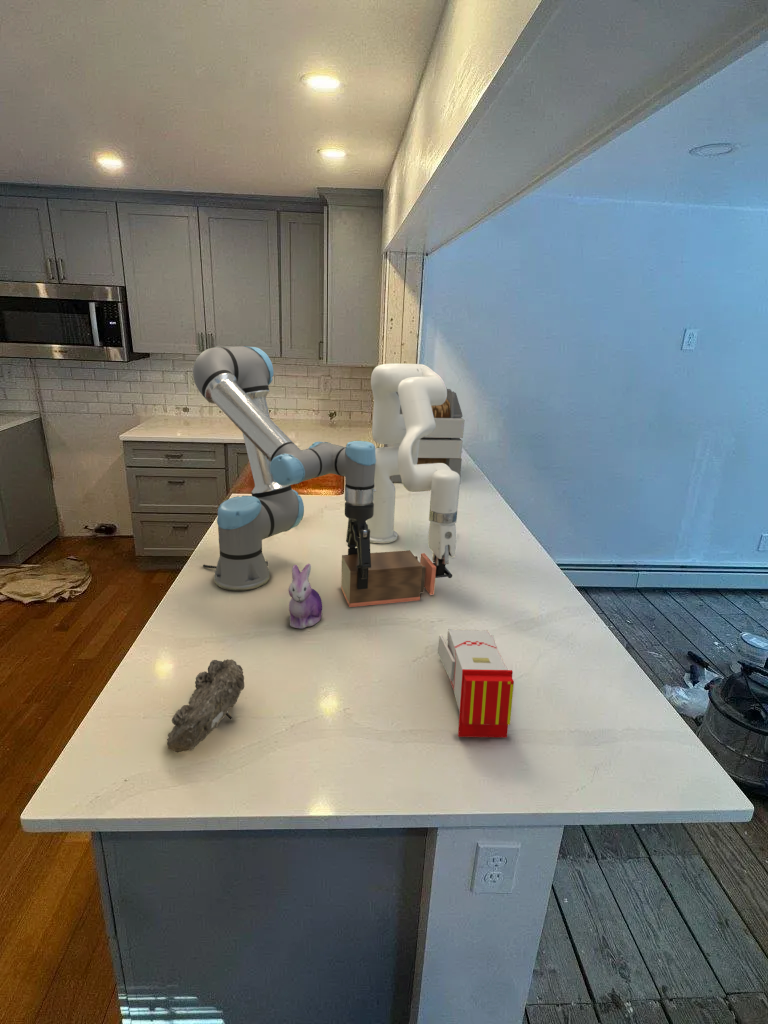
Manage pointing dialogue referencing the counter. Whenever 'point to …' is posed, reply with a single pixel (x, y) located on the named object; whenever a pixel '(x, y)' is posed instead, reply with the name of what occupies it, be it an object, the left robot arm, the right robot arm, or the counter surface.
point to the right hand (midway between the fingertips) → (438, 576)
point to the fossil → (206, 705)
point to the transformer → (441, 437)
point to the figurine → (303, 600)
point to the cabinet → (383, 579)
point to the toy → (478, 682)
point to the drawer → (430, 574)
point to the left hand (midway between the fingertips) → (357, 578)
